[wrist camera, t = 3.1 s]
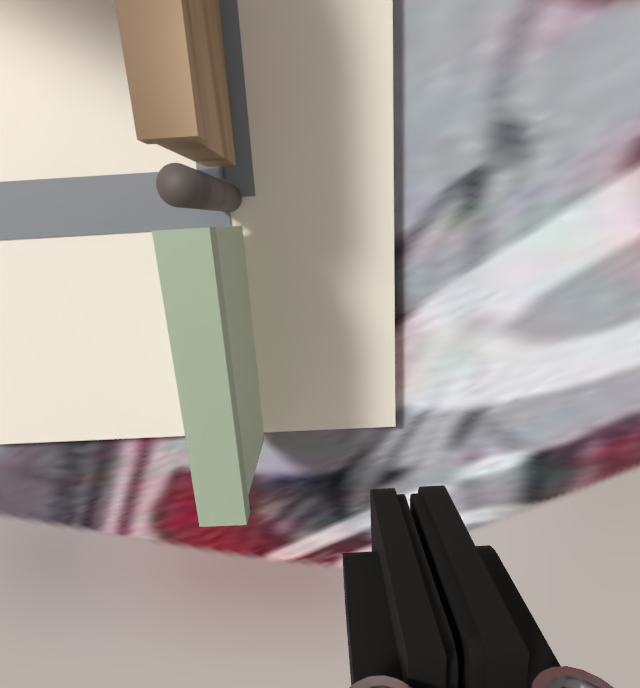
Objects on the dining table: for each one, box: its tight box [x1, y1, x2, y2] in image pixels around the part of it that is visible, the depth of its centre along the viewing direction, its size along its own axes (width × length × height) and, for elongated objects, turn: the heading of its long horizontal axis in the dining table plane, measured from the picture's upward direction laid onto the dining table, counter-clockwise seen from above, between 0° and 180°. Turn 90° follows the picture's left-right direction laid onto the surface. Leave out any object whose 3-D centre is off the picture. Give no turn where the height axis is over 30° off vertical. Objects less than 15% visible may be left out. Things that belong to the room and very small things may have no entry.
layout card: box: [0, 0, 395, 444], centre depth 16 cm, size 18×19×1 cm
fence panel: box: [152, 226, 264, 527], centre depth 14 cm, size 8×1×5 cm, turn 3°
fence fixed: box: [115, 0, 242, 212], centre depth 11 cm, size 1×10×6 cm, turn 3°
